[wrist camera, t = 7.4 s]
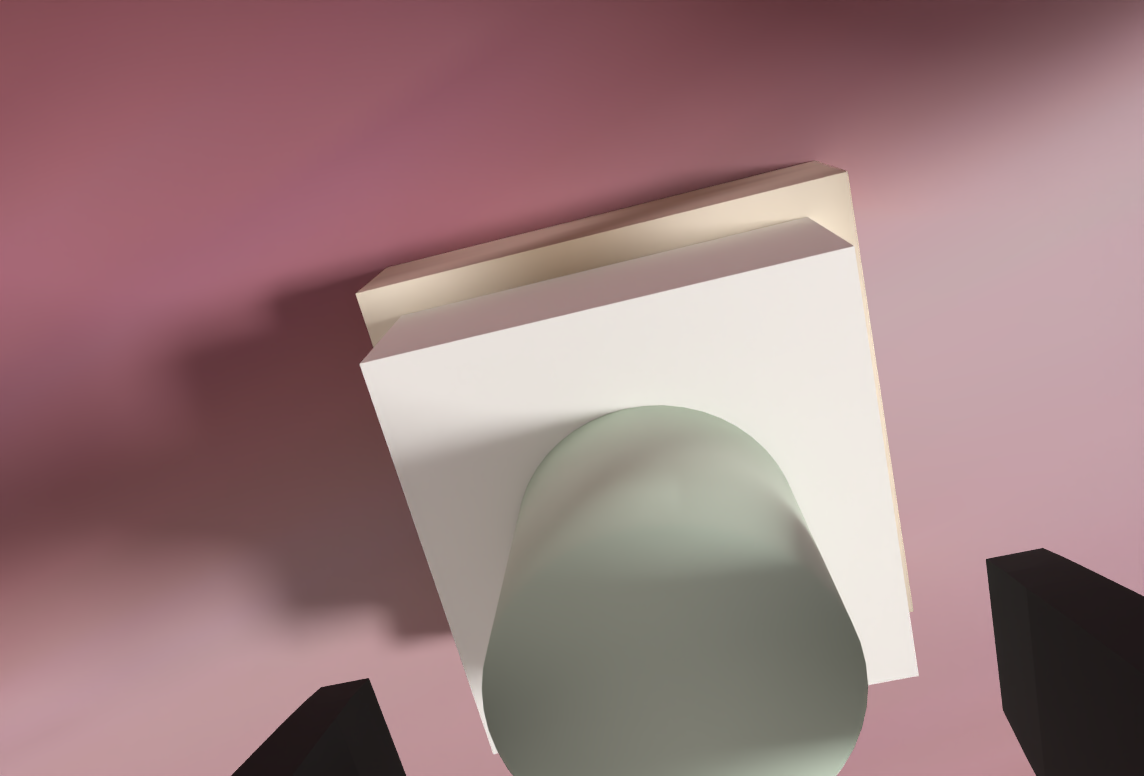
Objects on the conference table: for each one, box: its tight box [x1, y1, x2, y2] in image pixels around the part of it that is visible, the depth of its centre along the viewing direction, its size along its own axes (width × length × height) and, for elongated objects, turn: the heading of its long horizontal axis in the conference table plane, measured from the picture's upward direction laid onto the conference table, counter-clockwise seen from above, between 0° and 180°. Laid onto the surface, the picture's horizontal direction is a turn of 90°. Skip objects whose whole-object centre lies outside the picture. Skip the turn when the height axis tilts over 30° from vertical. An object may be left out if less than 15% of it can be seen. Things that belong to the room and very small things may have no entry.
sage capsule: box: [482, 405, 868, 776], centre depth 12 cm, size 4×4×4 cm
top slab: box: [360, 217, 919, 754], centre depth 16 cm, size 8×8×3 cm
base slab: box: [356, 161, 913, 612], centre depth 18 cm, size 9×9×3 cm
